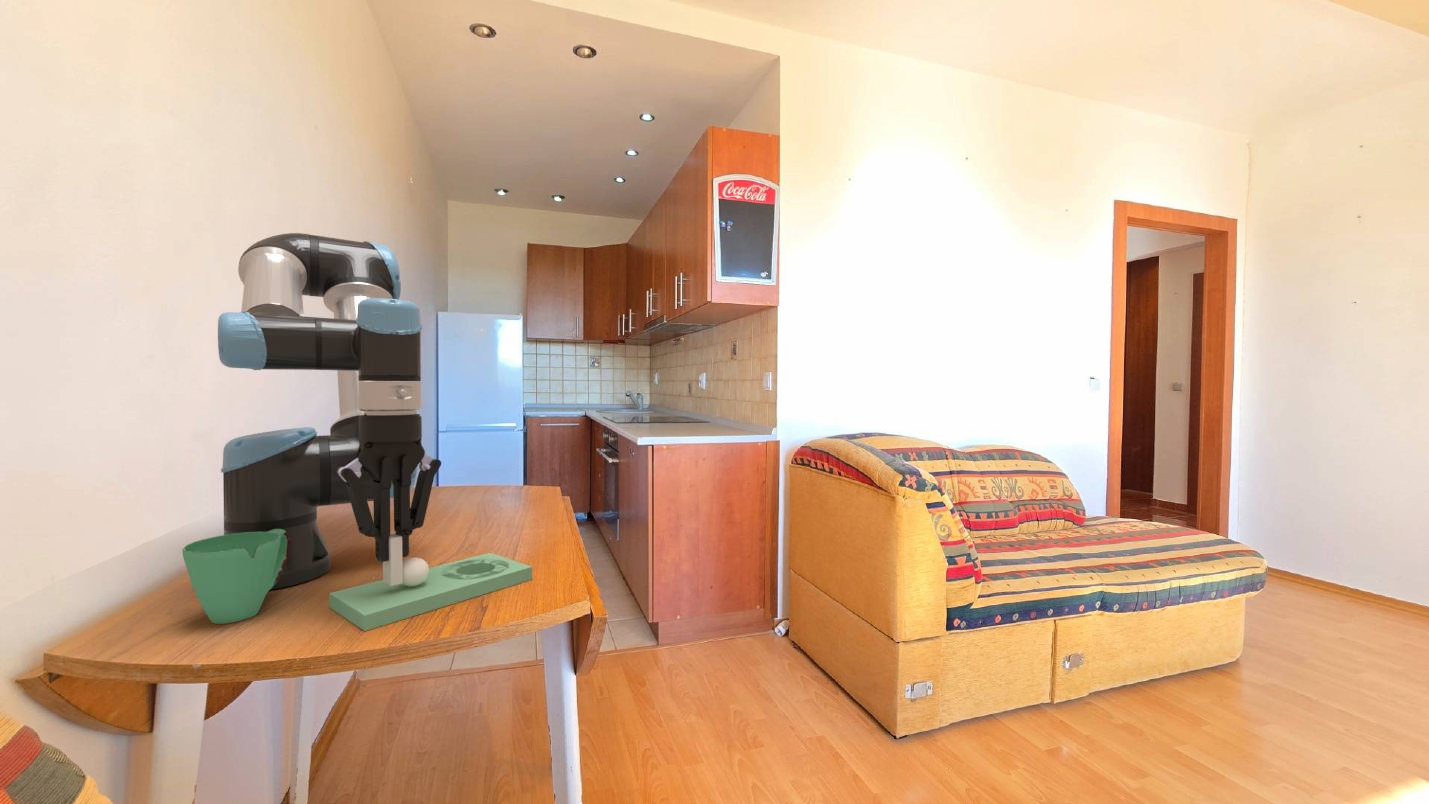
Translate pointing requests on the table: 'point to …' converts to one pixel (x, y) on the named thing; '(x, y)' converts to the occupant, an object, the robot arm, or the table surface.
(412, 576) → the ball
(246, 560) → the mug
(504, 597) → the table surface
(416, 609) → the green rectangular board
